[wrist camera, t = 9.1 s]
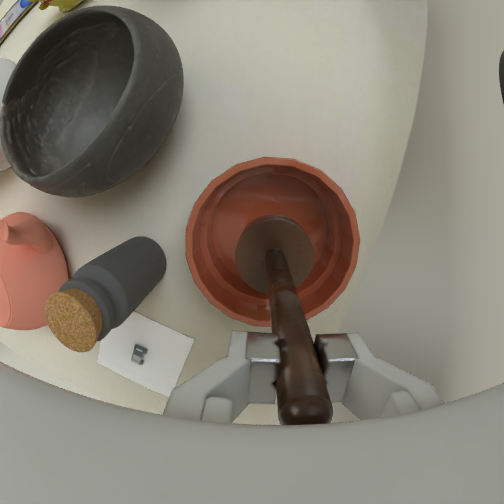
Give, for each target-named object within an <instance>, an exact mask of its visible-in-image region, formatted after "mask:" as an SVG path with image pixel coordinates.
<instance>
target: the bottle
mask: <svg viewBox="0 0 504 504" xmlns="http://www.w3.org/2000/svg"><path fill="white" fill-rule="evenodd" d="M165 270H166V258H165V254H164V252H163V250H162V249H161V247H160V246H159V245H158V244H157V243H156V242H155V241H153V240H152V239H150V238H147V237H135V238H132V239H130V240H128V241H126V242H124V243H122V244H120V245H118V246H117V247H115V248H113V249H111V250H109V251H108V252H106V253H104V254H102V255H101V256H99V257H97V258H95V259H94V260H92V261H90V262H89V263H87V264H85V265H84V266H82V267H81V268H80V269H78V270H77V271H76V273H75V274H74V276H73V278H72V279H70V280H68V281H67V282H65V283H64V284H63V285H62V286H61V287H60V289H59V291H58V292H57V293H54V294H52V295H51V296H50V297H49V298H48V300H47V302H46V307H45V313H46V318H47V322H48V324H49V327H50V329H51V331H52V332H53V334H54V335H55V336H56V338H57V339H58V340H59V341H60V342H61V343H62V344H63V345H65V346H66V347H68V348H69V349H71V350H73V351H77V352H87V351H89V350H91V349H92V348H93V347H94V345H95V343H96V341H100V340H102V339H103V338H105V337H106V336H107V335H108V333H109V332H110V331H111V329H114V328H117V327H119V326H120V325H121V324H122V323H123V322H124V321H125V320H126V319H127V318H128V317H129V316H130V315H131V313H132V312H133V311H134V310H135V309H136V308H137V306H138V305H139V304H140V303H141V302H142V301H143V300H144V298H145V297H146V296H147V295H148V294H149V293H150V292H151V290H152V289H153V288H154V287H155V286H156V285H157V283H158V282H159V281H160V280H161V279H162V277H163V275H164V273H165Z"/></svg>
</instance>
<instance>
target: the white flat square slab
mask: <svg viewBox="0 0 504 504" xmlns="http://www.w3.org/2000/svg"><path fill="white" fill-rule="evenodd" d="M194 340H195V339H192V338H190V337H188V336H185V335H183V334H181V333H179V332H176V331H174V330H172V329H170V328H167V327H165V326H163V325H161V324H159V323H157V322H155V321H152V320H150V319H148V318H146V317H144V316H142V315H140V314H138V313H136V312H134V311H133V312H132V313H131V315H130V316H129V317H128V318H127V319H126V320H125V321H124V322H123V323H122V324H121V325H120V326H119V327H117V328H114V329H111V331H110V332H109V333H108V335H107V336H106V337H105V338H103V339H102V340H101V342H100V349H99V355H98V362H97V363H99V364H101V365H103V366H104V367H106V368H108V369H110V370H112V371H114V372H116V373H118V374H120V375H122V376H123V377H125V378H127V379H129V380H132V381H134V382H136V383H138V384H140V385H142V386H144V387H146V388H148V389H151V390H153V391H155V392H157V393H160V394H162V395H164V396H167V397H170V394H171V391H172V390H173V389H174V387H175V385H176V383H177V380H178V378H179V375H180V373H181V371H182V368H183V366H184V364H185V361H186V359H187V356H188V354H189V352H190V349H191V347H192V345H193V342H194Z"/></svg>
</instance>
